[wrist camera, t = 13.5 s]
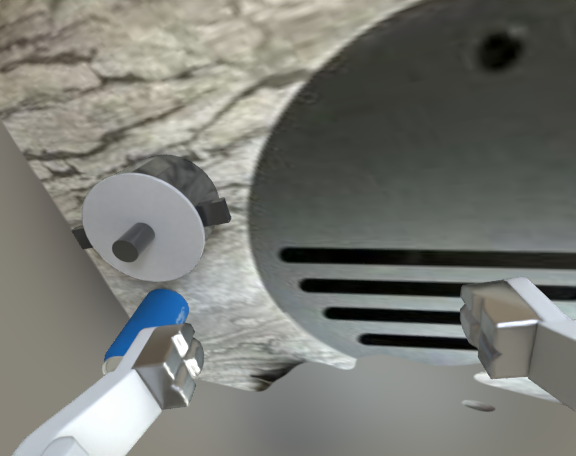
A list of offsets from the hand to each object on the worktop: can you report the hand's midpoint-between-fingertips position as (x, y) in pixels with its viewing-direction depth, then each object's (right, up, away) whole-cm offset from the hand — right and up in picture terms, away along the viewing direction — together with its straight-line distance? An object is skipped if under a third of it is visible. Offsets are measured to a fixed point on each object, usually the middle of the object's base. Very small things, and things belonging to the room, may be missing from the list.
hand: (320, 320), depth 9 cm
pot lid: (-15, +3, +22) cm, 27 cm away
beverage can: (-19, -8, +36) cm, 42 cm away
